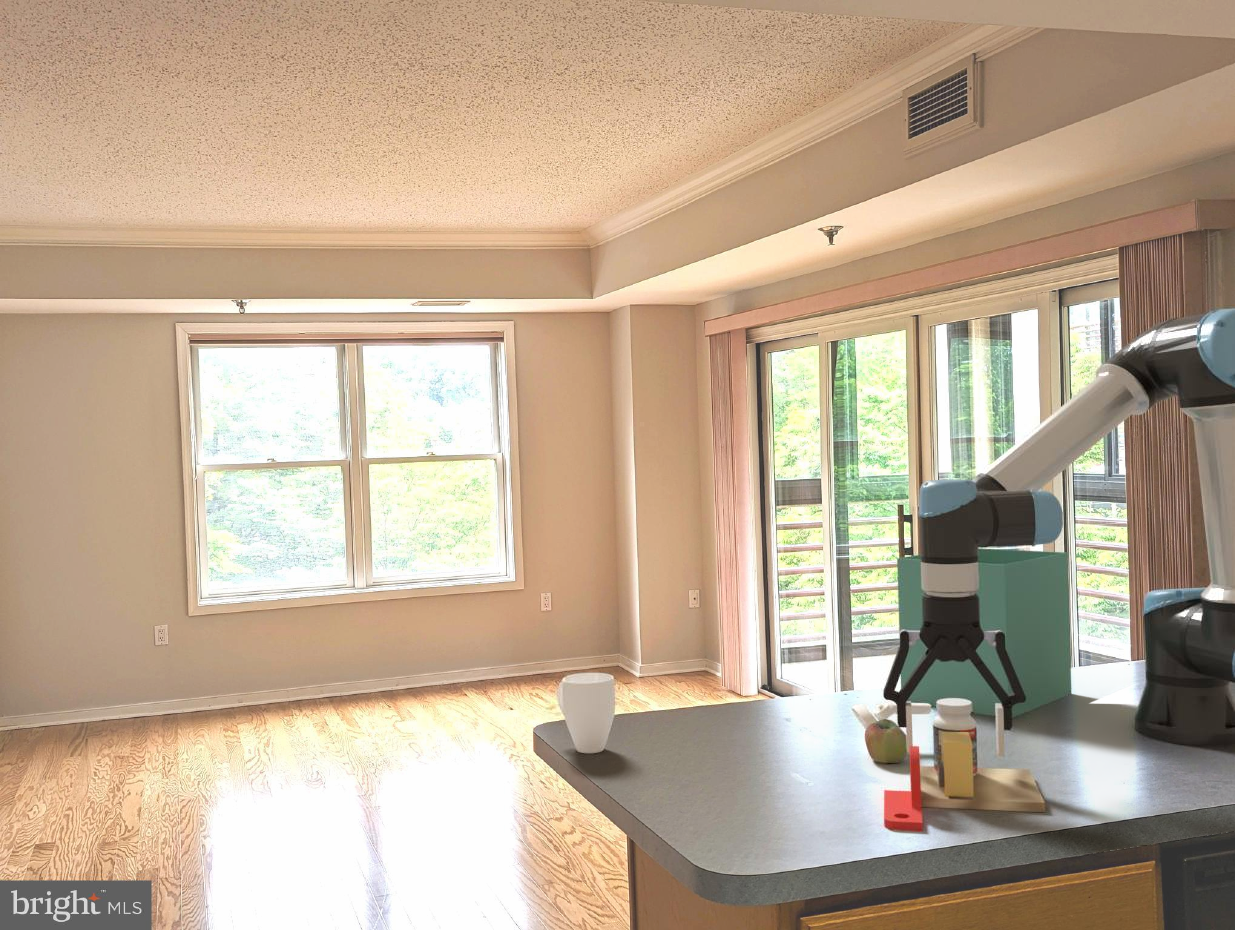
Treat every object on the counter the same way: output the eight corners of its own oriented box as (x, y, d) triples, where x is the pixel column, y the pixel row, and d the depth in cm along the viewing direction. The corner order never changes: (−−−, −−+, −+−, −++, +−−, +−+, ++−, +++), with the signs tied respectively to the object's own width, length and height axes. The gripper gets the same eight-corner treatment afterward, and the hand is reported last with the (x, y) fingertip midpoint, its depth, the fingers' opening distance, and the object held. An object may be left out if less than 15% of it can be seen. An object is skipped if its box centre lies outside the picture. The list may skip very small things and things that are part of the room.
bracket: (884, 798, 142) (882, 739, 142) (919, 800, 141) (918, 740, 141) (884, 830, 131) (882, 765, 131) (922, 832, 130) (920, 766, 130)
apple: (876, 750, 164) (875, 712, 164) (919, 762, 158) (918, 722, 158) (849, 758, 161) (848, 719, 161) (892, 770, 154) (891, 729, 154)
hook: (935, 756, 160) (933, 709, 160) (852, 754, 163) (851, 708, 163) (930, 742, 168) (929, 697, 167) (852, 740, 170) (850, 696, 170)
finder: (968, 732, 142) (936, 731, 143) (972, 742, 137) (938, 741, 138) (969, 784, 142) (937, 783, 143) (973, 797, 138) (940, 795, 138)
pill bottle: (970, 782, 143) (968, 708, 143) (928, 776, 147) (926, 704, 146) (982, 771, 148) (980, 699, 148) (941, 765, 151) (939, 695, 151)
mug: (627, 749, 169) (625, 677, 169) (584, 760, 164) (582, 685, 164) (582, 735, 178) (580, 666, 178) (540, 745, 173) (538, 674, 173)
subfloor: (1029, 778, 148) (1029, 769, 148) (1045, 812, 135) (1044, 802, 135) (916, 774, 152) (916, 765, 152) (921, 806, 138) (920, 797, 138)
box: (967, 680, 211) (963, 547, 210) (1071, 695, 195) (1067, 552, 195) (901, 701, 195) (897, 558, 195) (1009, 720, 180) (1004, 564, 179)
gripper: (1037, 588, 148) (1042, 747, 148) (862, 589, 153) (866, 741, 154) (1046, 596, 140) (1050, 763, 141) (861, 596, 146) (866, 756, 146)
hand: (954, 752), depth 147 cm, fingers open, 11 cm apart
